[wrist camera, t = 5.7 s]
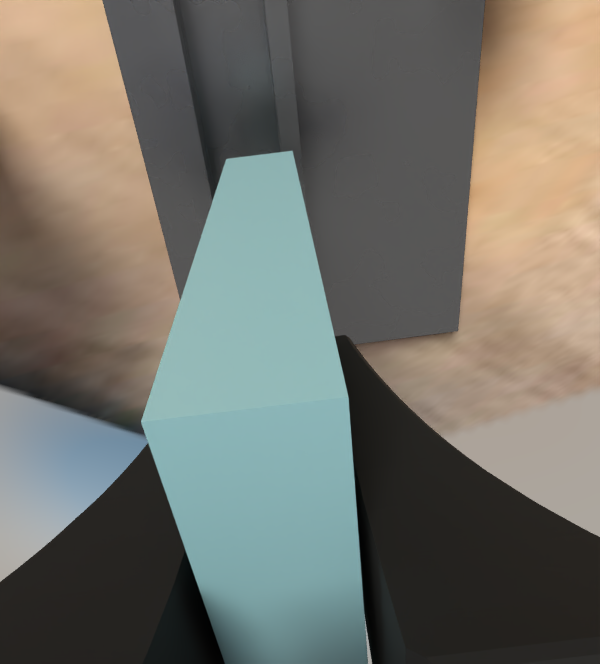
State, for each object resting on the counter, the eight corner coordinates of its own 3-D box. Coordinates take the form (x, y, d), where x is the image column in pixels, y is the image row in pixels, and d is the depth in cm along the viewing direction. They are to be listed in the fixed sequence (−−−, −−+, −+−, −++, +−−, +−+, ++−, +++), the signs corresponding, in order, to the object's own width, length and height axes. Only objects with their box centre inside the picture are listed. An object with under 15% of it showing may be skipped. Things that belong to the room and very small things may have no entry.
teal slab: (273, 428, 15) (280, 824, 8) (226, 158, 11) (141, 422, 4) (322, 422, 15) (379, 813, 8) (292, 150, 11) (348, 396, 4)
